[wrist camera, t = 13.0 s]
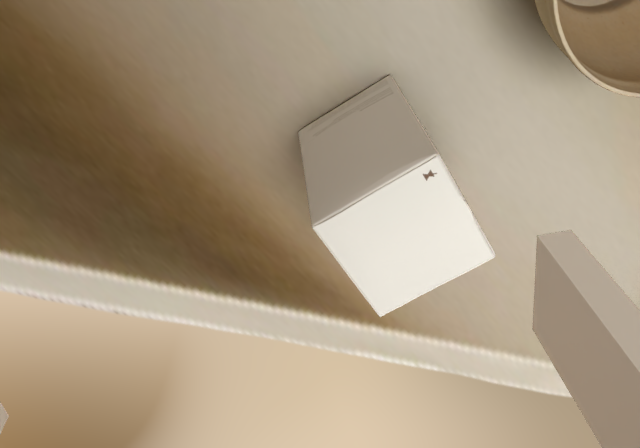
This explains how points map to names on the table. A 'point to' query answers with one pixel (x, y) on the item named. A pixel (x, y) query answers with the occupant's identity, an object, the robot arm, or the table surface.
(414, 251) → the supplement box
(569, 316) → the robot arm
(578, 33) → the planter bowl
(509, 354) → the table surface
